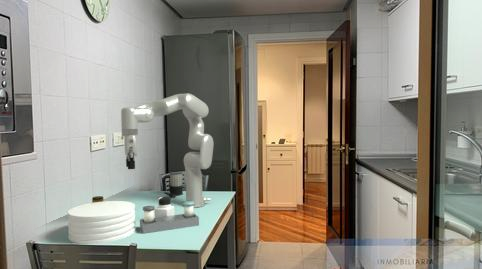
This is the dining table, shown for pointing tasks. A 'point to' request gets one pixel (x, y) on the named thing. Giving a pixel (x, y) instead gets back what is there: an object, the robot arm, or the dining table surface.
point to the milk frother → (173, 184)
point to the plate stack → (101, 222)
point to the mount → (168, 223)
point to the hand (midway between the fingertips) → (130, 167)
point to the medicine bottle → (164, 207)
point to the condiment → (97, 199)
